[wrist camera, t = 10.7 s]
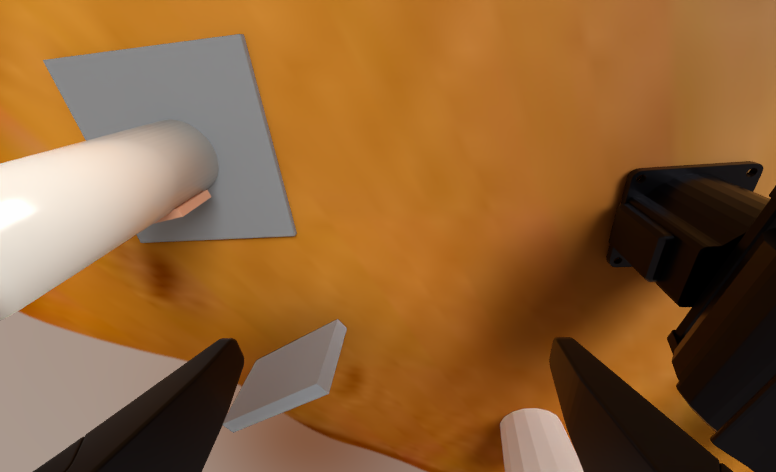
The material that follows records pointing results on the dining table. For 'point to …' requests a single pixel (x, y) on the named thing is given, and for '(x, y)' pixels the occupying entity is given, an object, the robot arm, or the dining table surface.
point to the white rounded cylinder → (94, 202)
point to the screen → (288, 377)
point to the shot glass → (536, 443)
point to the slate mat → (197, 108)
